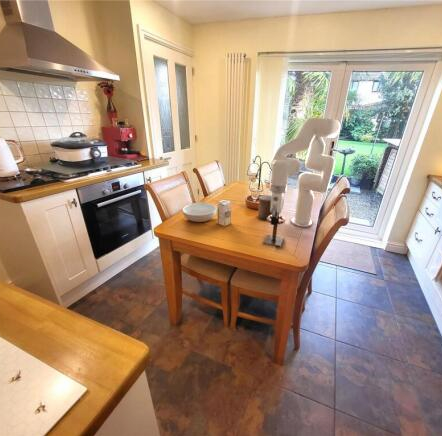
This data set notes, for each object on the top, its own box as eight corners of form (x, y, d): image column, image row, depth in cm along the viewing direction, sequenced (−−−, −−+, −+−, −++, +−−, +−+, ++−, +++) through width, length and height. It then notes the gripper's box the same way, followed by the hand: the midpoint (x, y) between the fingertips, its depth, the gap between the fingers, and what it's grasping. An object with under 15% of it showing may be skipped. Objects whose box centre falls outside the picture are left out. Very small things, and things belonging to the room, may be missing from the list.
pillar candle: (272, 221, 146) (274, 199, 140) (256, 219, 148) (258, 197, 142) (273, 215, 155) (275, 193, 149) (258, 213, 157) (260, 192, 150)
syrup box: (224, 221, 144) (224, 199, 138) (231, 224, 141) (231, 201, 135) (217, 224, 140) (217, 201, 134) (224, 227, 137) (224, 204, 131)
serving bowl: (198, 209, 160) (198, 199, 157) (223, 216, 150) (223, 206, 147) (175, 220, 143) (175, 209, 140) (202, 229, 134) (202, 218, 131)
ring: (268, 216, 123) (269, 213, 123) (286, 219, 121) (286, 216, 120) (265, 222, 115) (265, 219, 115) (283, 226, 113) (284, 223, 112)
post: (267, 236, 129) (269, 215, 123) (283, 239, 126) (286, 217, 121) (263, 244, 121) (265, 221, 115) (280, 248, 119) (283, 225, 113)
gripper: (283, 194, 99) (279, 232, 107) (288, 183, 113) (284, 218, 121) (266, 191, 101) (263, 229, 109) (273, 182, 115) (270, 216, 123)
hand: (274, 223), depth 115 cm, fingers closed on ring, 2 cm apart
